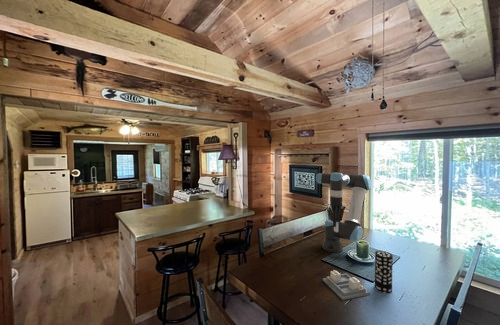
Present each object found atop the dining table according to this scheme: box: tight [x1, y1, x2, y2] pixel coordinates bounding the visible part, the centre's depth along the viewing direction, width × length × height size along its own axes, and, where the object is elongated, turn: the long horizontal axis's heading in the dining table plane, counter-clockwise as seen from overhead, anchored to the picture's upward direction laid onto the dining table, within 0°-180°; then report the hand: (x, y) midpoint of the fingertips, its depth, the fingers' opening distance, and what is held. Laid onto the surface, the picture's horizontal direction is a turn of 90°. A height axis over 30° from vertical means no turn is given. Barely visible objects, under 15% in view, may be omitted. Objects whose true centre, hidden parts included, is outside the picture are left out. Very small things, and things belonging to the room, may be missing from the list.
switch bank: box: [322, 273, 371, 301], centre depth 124 cm, size 17×18×3 cm
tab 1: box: [330, 269, 342, 282], centre depth 128 cm, size 4×4×6 cm
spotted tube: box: [374, 250, 394, 294], centre depth 122 cm, size 8×8×20 cm
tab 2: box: [349, 276, 361, 290], centre depth 120 cm, size 4×4×6 cm
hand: (336, 231), depth 145 cm, fingers closed
